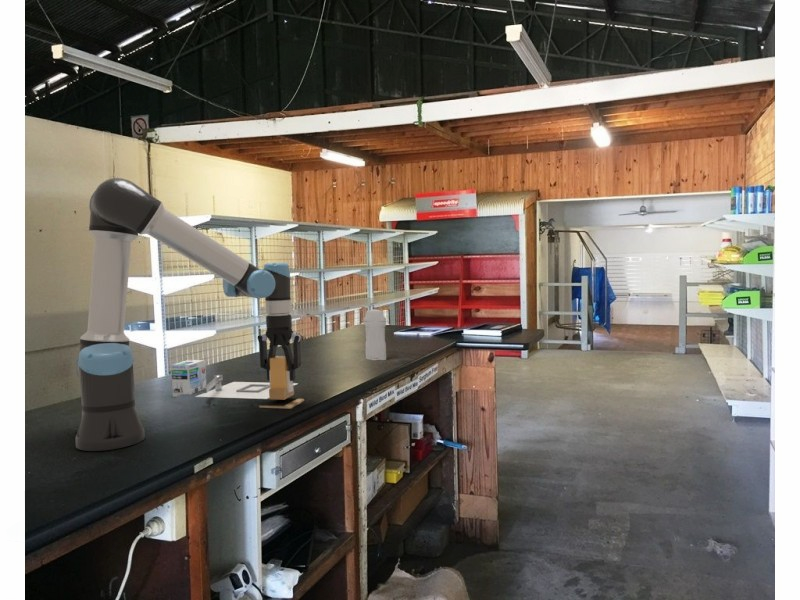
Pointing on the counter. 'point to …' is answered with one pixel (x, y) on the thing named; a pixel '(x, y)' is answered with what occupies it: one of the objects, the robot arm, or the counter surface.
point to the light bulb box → (188, 377)
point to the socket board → (240, 390)
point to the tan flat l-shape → (288, 405)
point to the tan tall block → (279, 378)
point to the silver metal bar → (212, 383)
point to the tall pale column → (375, 335)
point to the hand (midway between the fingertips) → (281, 391)
